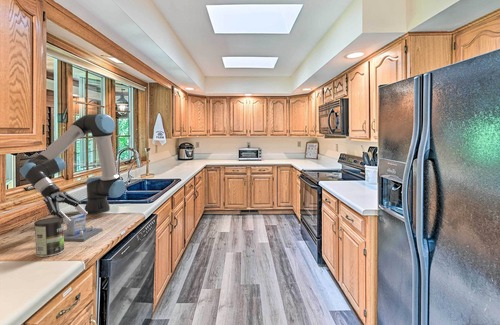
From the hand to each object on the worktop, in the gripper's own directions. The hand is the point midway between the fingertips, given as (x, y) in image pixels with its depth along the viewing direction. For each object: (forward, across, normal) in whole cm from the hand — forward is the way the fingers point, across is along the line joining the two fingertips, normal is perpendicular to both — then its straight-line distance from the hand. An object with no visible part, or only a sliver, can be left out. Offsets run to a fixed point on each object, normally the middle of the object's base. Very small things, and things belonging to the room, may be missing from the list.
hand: (77, 218), depth 147 cm
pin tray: (+6, 0, -7) cm, 9 cm away
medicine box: (+5, 0, -6) cm, 8 cm away
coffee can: (+8, +22, -5) cm, 24 cm away
